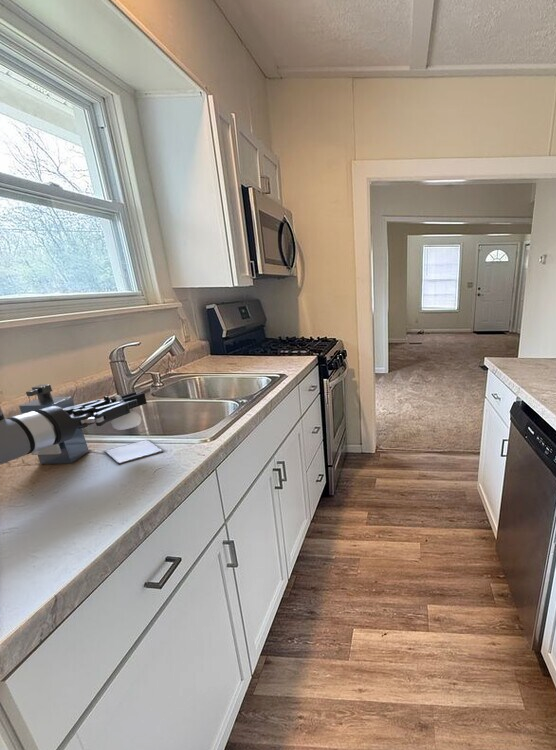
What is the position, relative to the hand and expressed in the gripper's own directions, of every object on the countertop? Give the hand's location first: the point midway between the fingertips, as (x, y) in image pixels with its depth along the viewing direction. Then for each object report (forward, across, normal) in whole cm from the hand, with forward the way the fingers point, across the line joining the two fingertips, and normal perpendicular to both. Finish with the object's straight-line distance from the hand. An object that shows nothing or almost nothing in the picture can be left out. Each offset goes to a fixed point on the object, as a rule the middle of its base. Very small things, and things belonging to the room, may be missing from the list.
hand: (140, 397), depth 101 cm
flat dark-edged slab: (-6, 0, -13) cm, 14 cm away
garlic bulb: (-6, 0, -6) cm, 8 cm away
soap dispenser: (-13, -14, -13) cm, 23 cm away
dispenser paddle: (-18, -12, -10) cm, 23 cm away
